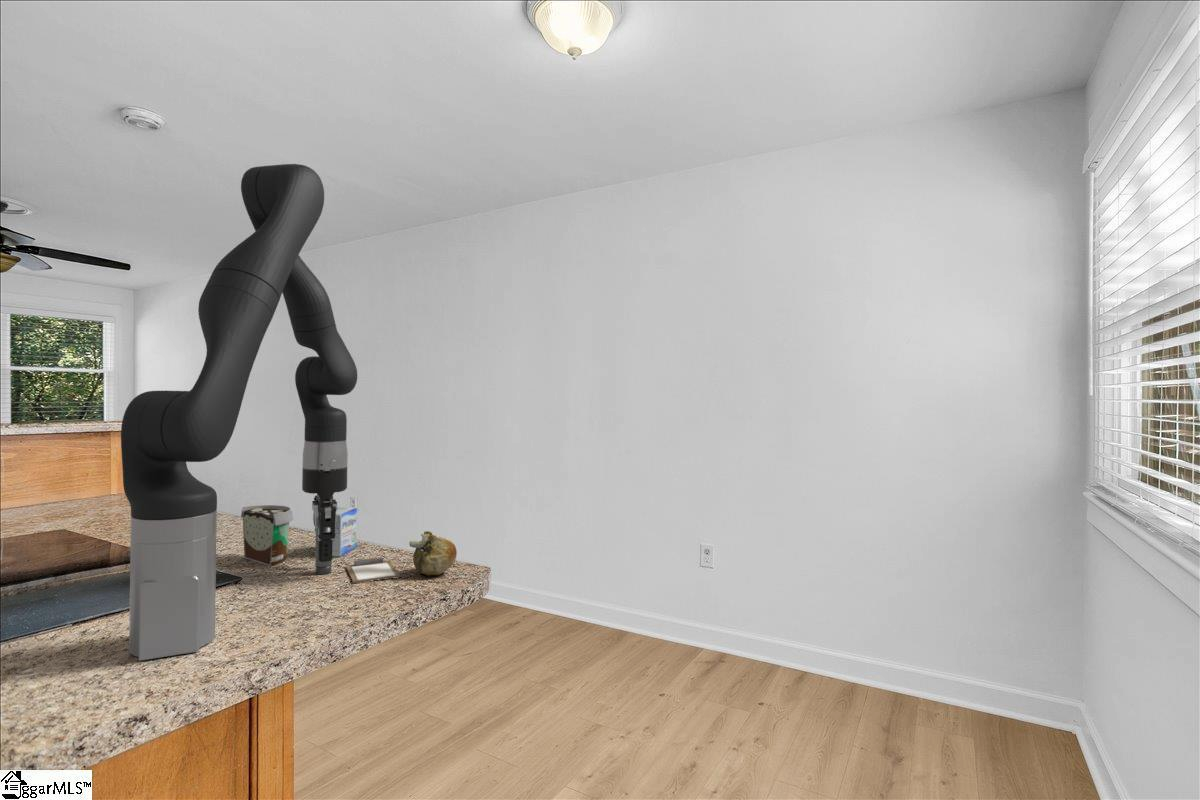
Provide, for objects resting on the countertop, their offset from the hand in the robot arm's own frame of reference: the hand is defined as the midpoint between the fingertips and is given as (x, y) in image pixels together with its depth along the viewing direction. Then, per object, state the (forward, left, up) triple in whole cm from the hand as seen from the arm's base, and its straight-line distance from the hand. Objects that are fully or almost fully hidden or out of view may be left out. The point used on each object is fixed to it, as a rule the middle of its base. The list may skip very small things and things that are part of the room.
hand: (323, 556), depth 111 cm
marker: (0, 0, -3) cm, 3 cm away
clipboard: (-4, -8, -3) cm, 9 cm away
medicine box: (+14, -4, -3) cm, 15 cm away
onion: (-9, -18, -3) cm, 20 cm away
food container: (+14, +8, -3) cm, 16 cm away
